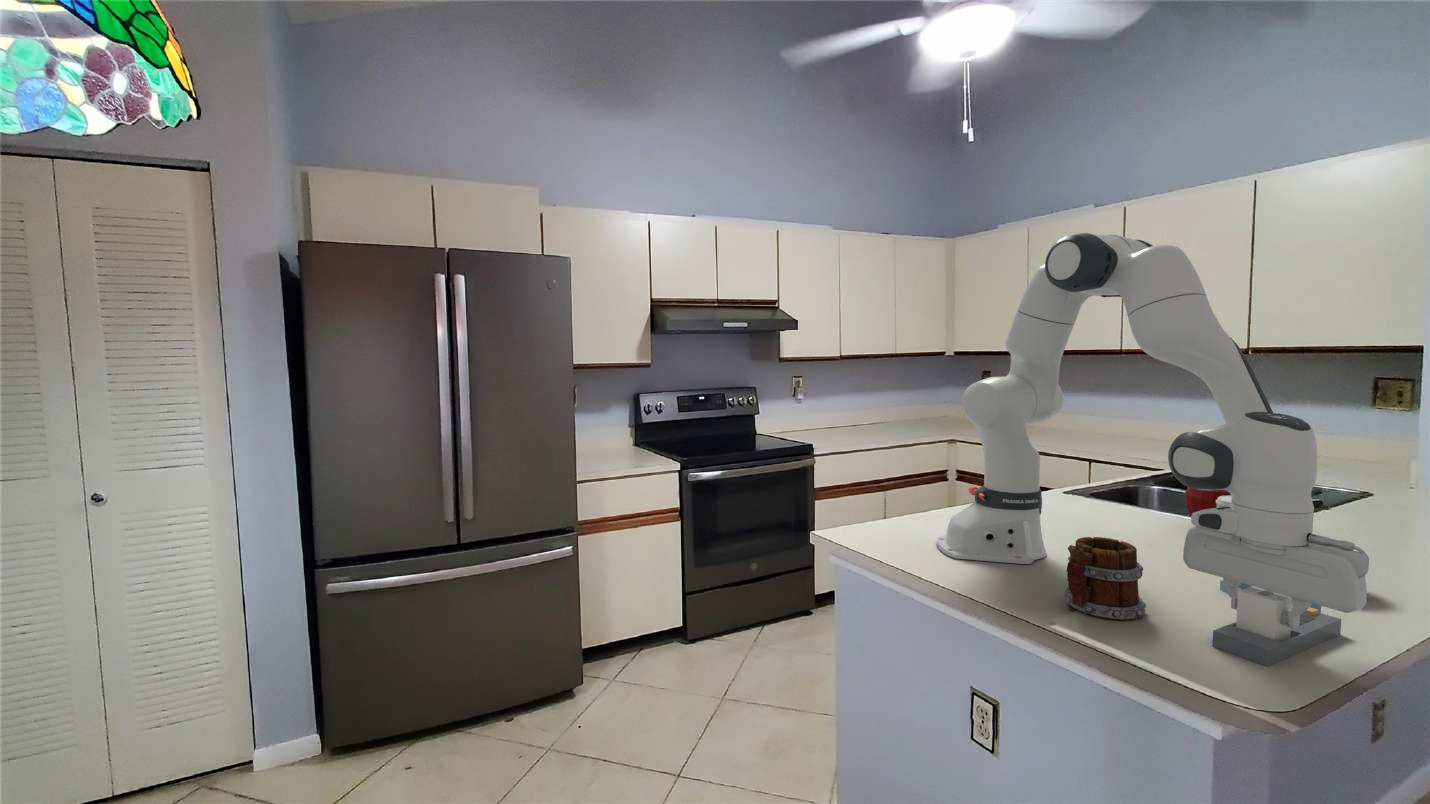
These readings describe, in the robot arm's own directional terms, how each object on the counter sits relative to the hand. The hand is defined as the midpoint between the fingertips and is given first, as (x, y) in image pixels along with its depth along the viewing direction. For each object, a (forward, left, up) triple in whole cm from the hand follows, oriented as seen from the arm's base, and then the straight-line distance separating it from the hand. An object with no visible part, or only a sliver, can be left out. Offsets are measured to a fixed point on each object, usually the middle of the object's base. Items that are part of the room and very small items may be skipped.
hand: (1263, 617), depth 89 cm
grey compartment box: (+5, +3, -5) cm, 7 cm away
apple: (+33, +62, -5) cm, 70 cm away
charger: (0, 0, -3) cm, 3 cm away
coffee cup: (+27, +44, -5) cm, 52 cm away
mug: (-17, +11, -5) cm, 21 cm away
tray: (+13, +17, -5) cm, 22 cm away
